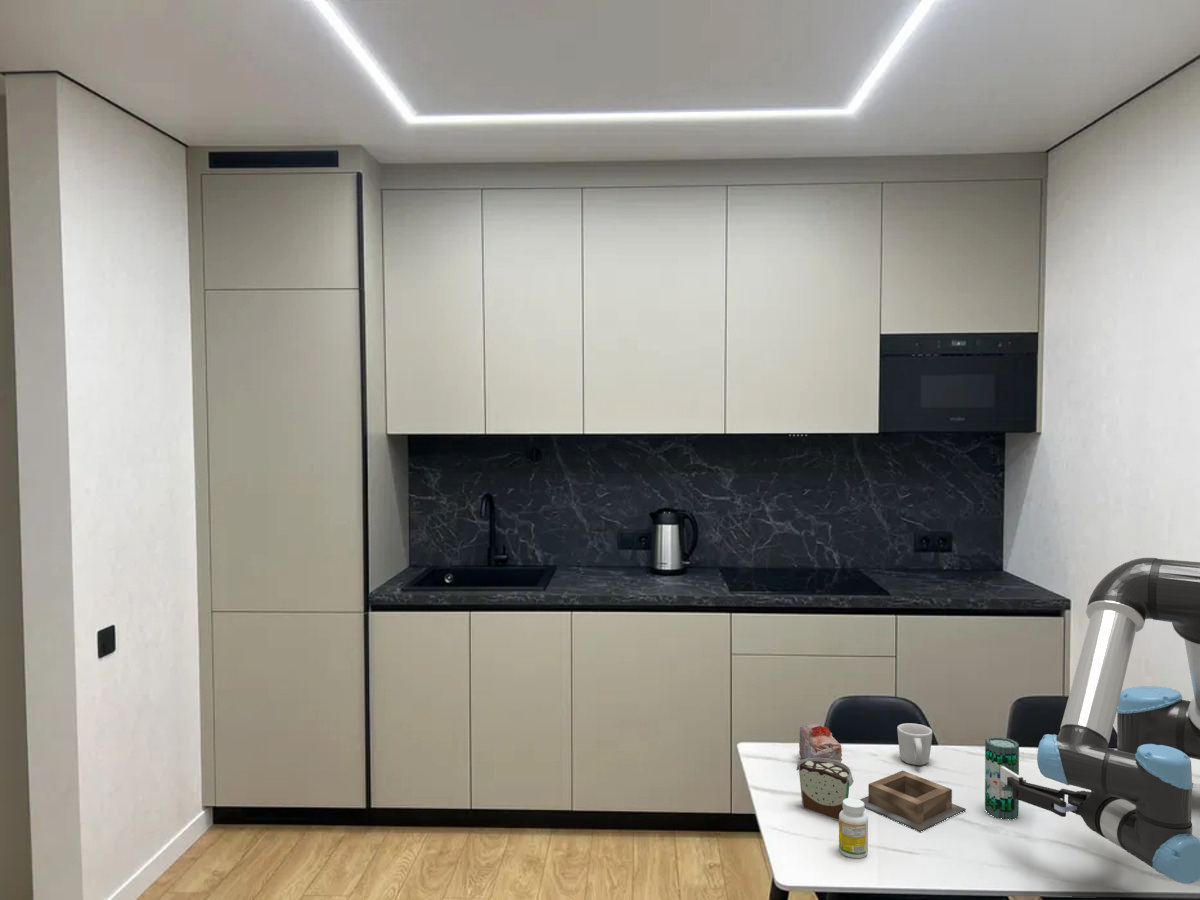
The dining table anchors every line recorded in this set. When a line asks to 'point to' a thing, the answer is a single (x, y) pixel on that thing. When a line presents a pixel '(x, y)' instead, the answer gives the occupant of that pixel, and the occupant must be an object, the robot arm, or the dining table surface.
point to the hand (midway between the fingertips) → (1032, 770)
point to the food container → (824, 785)
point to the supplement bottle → (853, 829)
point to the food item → (818, 743)
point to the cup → (914, 743)
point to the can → (996, 790)
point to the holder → (911, 800)
